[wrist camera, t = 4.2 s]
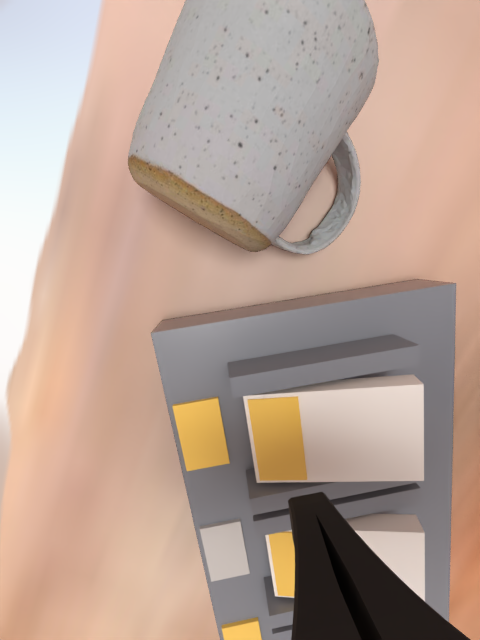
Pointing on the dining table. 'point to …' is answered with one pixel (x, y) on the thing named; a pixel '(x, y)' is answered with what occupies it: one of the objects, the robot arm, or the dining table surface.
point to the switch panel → (293, 371)
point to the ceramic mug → (257, 115)
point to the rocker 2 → (378, 533)
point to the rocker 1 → (339, 431)
